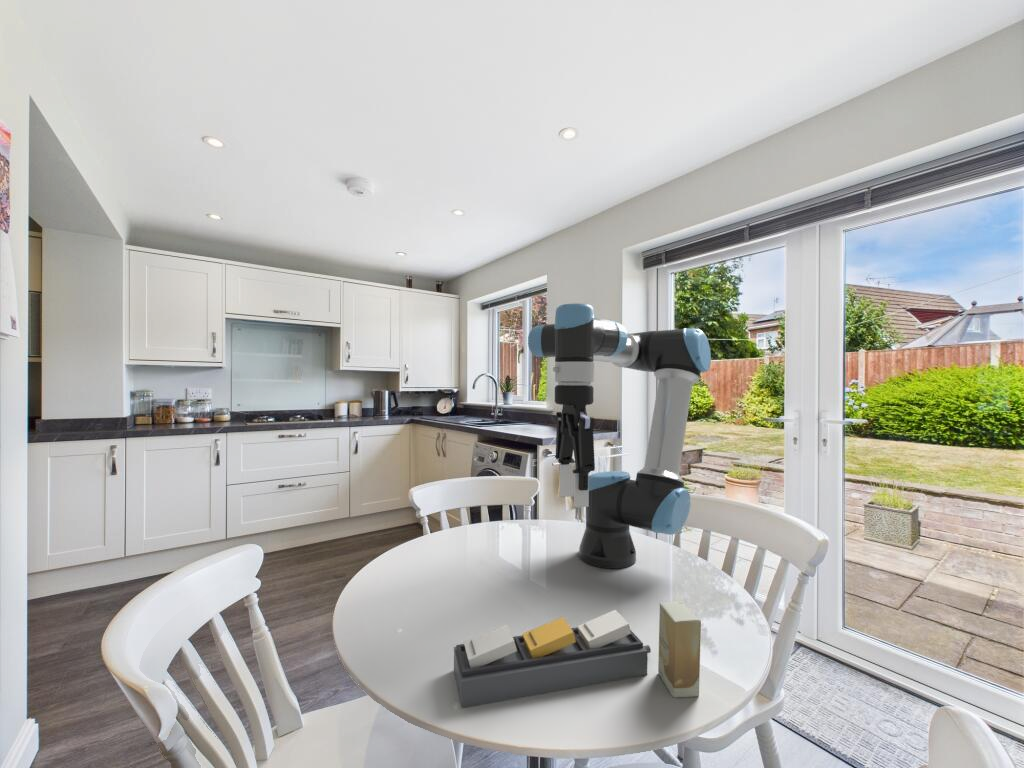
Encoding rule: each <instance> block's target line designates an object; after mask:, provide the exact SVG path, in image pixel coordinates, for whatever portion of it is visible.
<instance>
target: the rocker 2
mask: <svg viewBox="0 0 1024 768" xmlns="http://www.w3.org/2000/svg"><path fill="white" fill-rule="evenodd" d="M577 627H578V631H579V635H580V637H581V638H582V639H583V641H584V642H585V644H586V645H587V647H588V648H589V649H595V648H600V647H602V646H604V645H607V644H609V643H611V642H613V641H616V640H618V639H620V638H622V637H625V636H627V635H629V634H631V631H632V630H631V628H630V623H628V621H627V620H626V619H625V618H624V617H623V615H621V614H620V613H619V612H618V610H616V609H614V610H611V611H609V612H606V613H604V614H602V615H600V616H598V617H595V618H592V619H591V620H590V619H589V620H588V621H585V622H584V623H582V624H579V625H577ZM577 627H576V628H577ZM630 630H631V631H630Z"/></svg>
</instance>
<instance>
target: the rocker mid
mask: <svg viewBox="0 0 1024 768" xmlns="http://www.w3.org/2000/svg"><path fill="white" fill-rule="evenodd" d="M522 635H523V638H524V642H525V645H526V647H527V649H528V651H529V653H530V655H531V657H532V658H538V657H543V656H545V655H547V654H550V653H552V652H554V651H557V650H559V649H561V648H563V647H566V646H568V645H570V644H573V643H575V642H576V640H575V636H574V632H573V631H572V629H571V626H570V625H569V624H568V622H567V620H566V619H565V618H564V617H563V616H561V617H560V618H556V619H554V620H552V621H550V622H547V623H545V624H543V625H541V626H538V627H536V628H533V629H531V630H528V631H526V632H524V633H522ZM522 635H521V636H522Z"/></svg>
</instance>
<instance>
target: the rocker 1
mask: <svg viewBox="0 0 1024 768" xmlns="http://www.w3.org/2000/svg"><path fill="white" fill-rule="evenodd" d="M513 637H514V636H513V634H512V632H511V630H510V628H509V625H508V624H505V625H503V626H500V627H498V628H496V629H494V630H491V631H488V632H486V633H483V634H480V635H478V636H476V637H474V638H471V639H469V640H466V641H463V644H464V645H465V649H466V653H467V657H468V661H469V664H470V668H475V667H481V666H483V665H486V664H488V663H490V662H493V661H495V660H497V659H500V658H502V657H504V656H507V655H509V654H511V653H514V652H516V651H517V649H516V645H515V641H514V639H513Z"/></svg>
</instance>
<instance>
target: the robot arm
mask: <svg viewBox="0 0 1024 768" xmlns="http://www.w3.org/2000/svg"><path fill="white" fill-rule="evenodd" d="M594 312H595V310H594V307H593V306H592V305H591V304H588V303H580V302H579V303H574V302H573V303H564V304H561V305H559V306H557V307H556V310H555V316H554V323H551V324H549V323H548V324H546V323H544V324H541V325H536V326H533V328H532V329H530V331H529V333H528V337H527V347H528V348H529V351H530V353H531V354H532V355H533V356H535V357H538V358H545V359H546V358H554V364H555V365H554V366H553V368H552V371H553V372H554V382H555V383H557V385H555V387H554V403H555V404H557V405H561V406H562V410H561V411H557V412H556V413H555V414H556V415H555V416H556V436H555V437H556V438H555V458H556V459H557V460H558V463H559V497H560V498H565V497H566V498H568V497H569V498H570V497H573V507H574V508H585V529H584V532H583V535H582V537H581V541H580V544H579V550H578V556H579V558H580V560H581V561H583V562H584V563H586V564H589V565H591V566H594V567H598V568H605V569H623V568H628V567H631V566H632V565H634V564H635V563H636V561H637V551H636V547H635V544H634V541H633V538H632V535H631V532H630V527H634V528H638V529H642V530H645V531H648V532H649V531H650V532H653V533H655V534H663V535H669V536H670V535H671V536H672V535H675V534H677V533H678V532H680V531H681V530H682V528H683V527H684V525H685V524H686V522H687V519H688V517H689V513H690V511H691V505H692V504H691V493H690V492H689V491H688V489H686V488H685V486H684V485H685V481H684V480H683V478H682V477H681V475H680V468H681V463H682V455H683V450H684V442H685V436H686V428H687V423H688V416H689V410H690V402H691V395H692V391H693V390H692V389H693V385H695V384H697V383H698V382H699V381H700V379H701V378H700V377H701V373H706V372H708V371H709V369H710V367H711V363H712V356H711V355H712V353H711V348H710V343H709V340H708V337H707V336H706V334H705V332H703V330H701V329H699V328H686V327H685V328H684V327H683V328H679V329H678V328H677V329H665V330H649V331H648V330H647V331H642V332H641V331H640V332H634V333H628V332H627V330H626V328H625V326H624V325H623V324H621V323H620V322H616V321H614V320H612V319H603V318H601V319H600V318H596V317H595V313H594ZM595 362H603V363H612V364H613V365H614V366H615V367H618V368H624V369H630V370H636V371H641V372H648V373H653V375H654V376H655V378H656V379H657V381H658V383H657V387H656V388H657V389H656V394H655V395H656V396H655V401H654V405H653V406H654V408H653V413H652V419H651V425H650V432H649V437H648V442H647V450H646V455H645V460H644V461H645V462H644V466H643V468H641V469H640V470H638V471H637V472H636V476H635V477H636V478H635V479H634V480H633V479H631V475H630V473H629V472H627V471H625V470H624V471H623V470H615V471H614V470H611V471H608V470H607V471H603V472H602V471H601V472H595V468H596V466H595V465H596V464H595V463H596V462H595V445H594V444H595V443H594V427H595V419H594V416H588V413H587V408H586V406H589V405H592V404H593V403H594V386H593V385H591V384H592V383H593V382H594V381H595V379H594V377H595V373H594V372H595V370H594V369H595ZM573 455H574V457H573ZM574 464H575V465H574ZM574 466H575V469H574ZM591 472H595V473H591ZM590 473H591V474H590Z"/></svg>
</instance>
